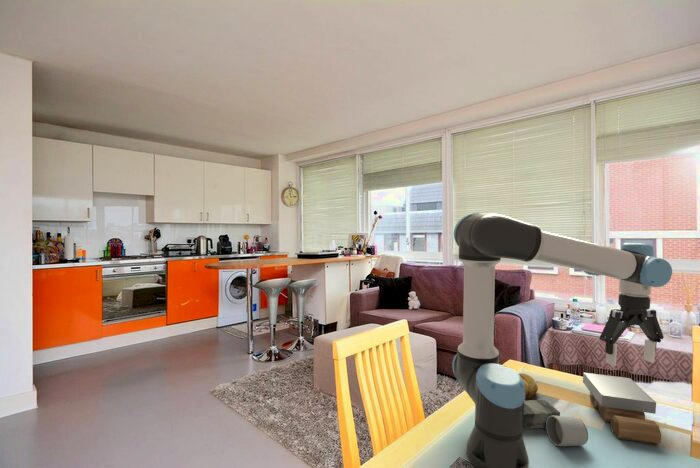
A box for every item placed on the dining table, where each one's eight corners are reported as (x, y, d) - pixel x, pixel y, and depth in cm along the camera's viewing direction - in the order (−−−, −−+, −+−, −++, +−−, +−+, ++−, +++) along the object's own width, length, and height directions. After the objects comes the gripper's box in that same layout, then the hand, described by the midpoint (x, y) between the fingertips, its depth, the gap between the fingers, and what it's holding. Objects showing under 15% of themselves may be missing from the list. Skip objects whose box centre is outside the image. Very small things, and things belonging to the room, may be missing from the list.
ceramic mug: (590, 451, 98) (591, 424, 98) (562, 452, 97) (563, 425, 97) (563, 428, 108) (564, 403, 108) (538, 429, 108) (539, 404, 107)
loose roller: (610, 430, 108) (611, 412, 108) (649, 436, 105) (650, 418, 105) (618, 441, 103) (620, 422, 102) (660, 448, 100) (661, 429, 100)
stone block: (499, 413, 116) (500, 397, 116) (542, 412, 117) (543, 397, 117) (513, 429, 107) (514, 413, 107) (560, 429, 108) (560, 412, 108)
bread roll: (529, 387, 134) (530, 366, 133) (547, 400, 124) (548, 378, 123) (497, 388, 132) (498, 367, 131) (512, 402, 122) (513, 380, 122)
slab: (601, 406, 110) (602, 395, 110) (582, 382, 125) (583, 372, 125) (655, 413, 106) (656, 402, 106) (629, 388, 122) (630, 378, 121)
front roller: (644, 429, 108) (645, 410, 108) (606, 424, 111) (607, 405, 110) (634, 418, 114) (635, 400, 113) (598, 413, 117) (599, 395, 116)
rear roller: (631, 415, 116) (632, 397, 115) (596, 410, 118) (597, 392, 118) (622, 405, 122) (623, 388, 121) (589, 400, 124) (590, 384, 124)
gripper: (609, 298, 102) (605, 370, 103) (682, 295, 106) (677, 365, 107) (588, 292, 109) (584, 360, 111) (656, 290, 113) (652, 355, 115)
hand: (630, 362), depth 109 cm, fingers open, 13 cm apart
